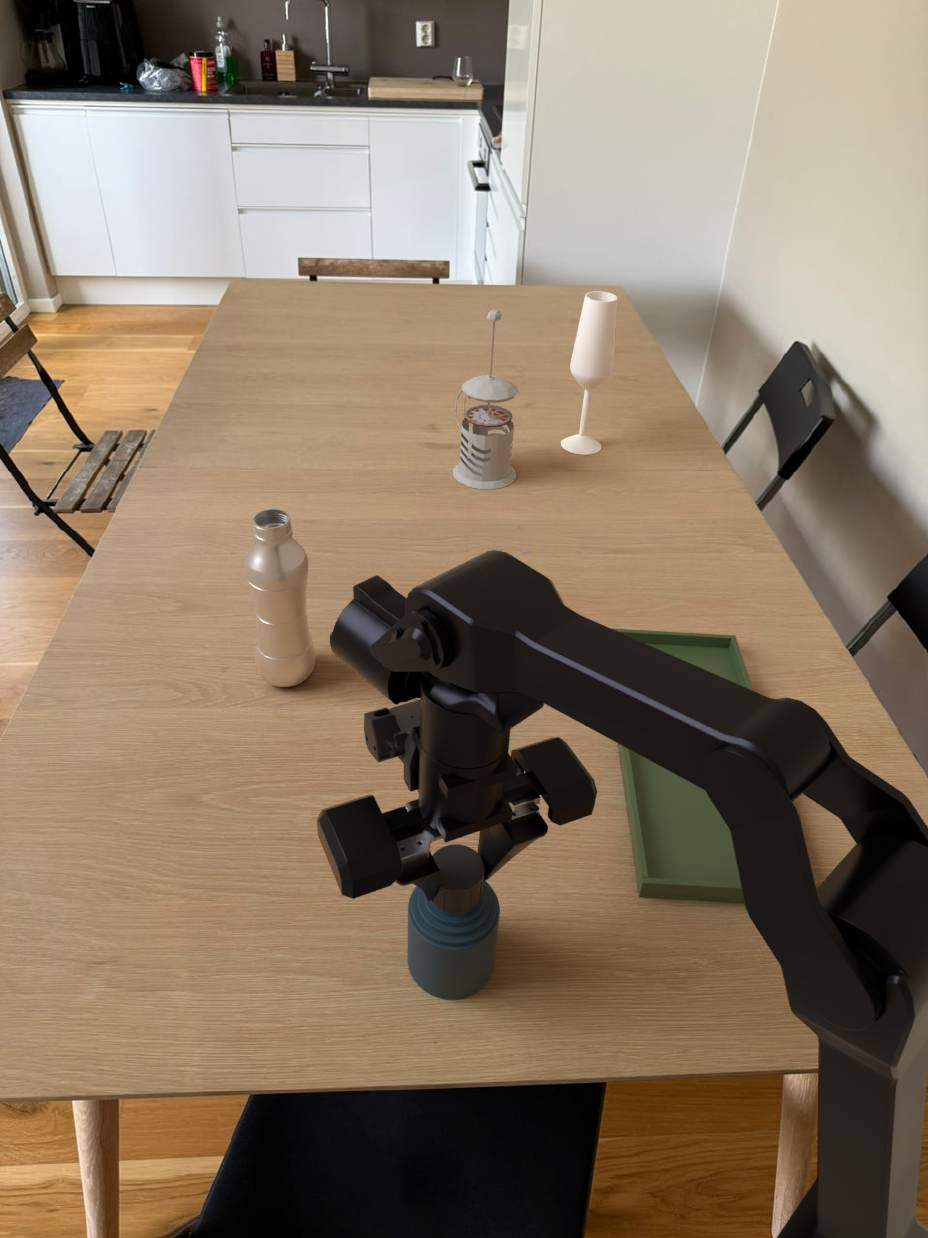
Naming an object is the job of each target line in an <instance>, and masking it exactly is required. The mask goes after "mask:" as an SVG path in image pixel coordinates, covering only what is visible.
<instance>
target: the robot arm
mask: <svg viewBox="0 0 928 1238" xmlns="http://www.w3.org/2000/svg"><path fill="white" fill-rule="evenodd" d="M352 592H353V593H352V594H353V596H352V597H353V599H351V600H350V601H349V602H348V604H347V605H346V606H345V607H344V608H343V609H342V611H341V612H340V614H339V615H338V616H337V618H336V621H335V623H334V625H333V628H332V629H333V630H332V631H331V633H329V646H330V649H331V652H332V653H333V655H334V656H335V657H336V658H338V659H339V660H340V661H341V662H342V663H343V664H345V665H346V666H347V667H348V668H350V669H351V670H352V671H353V672H355V673H356V674H357V675H358V676H359V677H361V678H362V679H363V680H364V681H366V682H367V683H368V684H369V685H370V686H372V687H373V688H374V689H376V690H377V691H378V692H379V693H380V694H382V695H383V696H384V697H385V698H386V699H388V700H389V701H390V702H392V703H393V704H394V705H396V706H393V707H391V708H388V707H382V708H379V709H374V710H371V711H368V712H365V713H364V714H363V733H364V739H365V745H366V748H367V750H368V752H369V753H370V754H371V756H372V757H373V758H374V760H375V761H376V762H378V763H382V762H386V761H389V760H391V759H395V758H398V759H399V761H401V762H402V765H403V781H404V783H405V785H406V787H407V788H408V790H409V792H415V791H417V793H418V798H416V799H413V800H410V801H408V802H406V803H405V805H404V806H400V807H397V808H394V809H391V810H388V811H385V812H382V810H381V808H380V805H379V804H378V802H377V800H376V797H375V796H374V794H367V795H363V796H360V797H357V798H354V799H351V800H348V801H344V802H341V803H338V804H335V805H331V806H328V807H325V808H322V809H321V810H320V812H319V814H318V816H317V818H316V829H317V830H316V831H317V837H318V839H319V842H320V844H321V847H322V849H323V852H324V854H325V857H326V860H327V861H328V864H329V866H330V869H331V871H332V874H333V877H334V879H335V881H336V884H337V886H338V889H339V891H340V894H341V896H344V897H347V898H349V899H352V900H355V899H357V898H360V897H363V896H367V895H368V894H371V893H374V892H377V891H381V890H383V889H386V888H389V887H391V886H393V884H394V883H396V884H397V885H399V886H400V887H401V886H402V887H406V886H409V885H414V886H415V887H416V886H417V887H419V888H420V889H422V891H423V892H424V894H425V896H426V898H427V899H428V901H431V900H433V899H434V897H435V895H436V893H437V887H438V880H439V874H440V870H439V868H438V866H437V864H436V862H435V860H434V858H433V854H432V852H431V850H430V849H431V844H432V843H434V842H437V841H439V840H443V841H444V843H446V844H447V843H449V842H452V841H455V840H457V839H461V838H464V837H467V836H470V835H473V834H474V833H478V832H479V835H478V844H477V851H476V852H477V853H478V854H479V855H480V857H481V858H482V860H483V863H484V870H485V873H484V881H485V880H486V881H488V880H489V879H490V878H492V877H493V876H494V875H496V873H497V872H499V871H500V870H501V869H502V868H503V867H504V866H506V865H507V863H509V862H510V861H511V860H513V859H514V858H515V857H516V856H517V855H519V854H520V853H521V852H522V851H523V850H525V849H526V848H527V847H529V846H530V845H532V844H533V843H534V842H535V841H537V840H539V839H540V838H541V839H542V838H543V837H545V836H546V835H547V834H548V831H549V825H548V824H547V822H546V820H545V819H544V818H543V816H542V815H541V813H540V807H539V805H540V803H541V798H542V799H543V801H544V802H545V804H546V805H547V806H548V808H547V815H546V816H547V818H548V819H549V821H550V822H551V823H553V824H555V825H557V826H564V825H566V824H569V823H573V822H575V821H577V820H581V819H583V818H586V817H589V816H592V815H593V812H594V809H595V805H596V800H597V795H598V788H597V786H596V781H595V779H594V778H593V776H592V775H591V774H590V772H589V771H588V769H587V768H586V767H585V765H584V764H583V763H582V762H581V760H580V759H579V758H578V756H577V754H576V753H575V752H574V751H573V749H572V748H571V746H570V745H569V744H568V742H566V741H565V740H564V739H562V738H561V737H560V736H555V737H549V738H546V739H542V740H540V741H537V742H533V743H530V744H527V745H524V746H520V747H517V748H514V749H511V750H510V742H511V739H510V737H511V730H512V729H513V728H515V727H516V726H518V725H519V724H520V723H522V722H523V721H525V720H526V719H528V718H529V717H531V716H533V715H534V714H535V713H537V712H538V711H540V710H541V709H543V708H544V706H545V705H546V706H548V707H550V708H552V709H553V710H555V711H557V712H559V713H561V714H563V715H565V716H567V717H569V718H571V719H572V720H574V721H576V722H578V723H579V724H582V725H583V726H585V727H587V728H588V729H590V730H593V731H594V732H596V733H598V734H600V735H601V736H603V737H605V738H607V739H609V740H611V741H612V742H615V743H617V745H618V744H620V745H622V746H624V747H626V748H628V749H629V750H631V751H633V752H635V753H637V754H639V755H641V756H642V757H644V758H646V759H648V760H650V761H652V762H654V763H655V764H657V765H659V766H661V767H663V768H665V769H667V770H668V771H670V772H672V773H674V774H676V775H678V776H680V777H681V778H683V779H685V780H687V781H689V782H691V783H692V784H694V785H696V786H698V787H700V788H702V789H704V790H705V791H706V793H707V795H708V796H709V798H710V800H711V801H712V803H713V804H714V806H715V807H716V809H717V810H718V812H719V814H720V815H721V817H722V818H723V820H724V821H725V823H726V824H727V826H728V827H729V829H730V832H731V837H732V842H733V847H734V852H735V857H736V862H737V867H738V872H739V877H740V882H741V887H742V892H743V897H744V902H745V903H744V902H743V903H744V906H745V909H746V913H747V914H748V917H749V919H750V920H751V922H752V923H753V925H754V926H755V928H756V929H757V931H758V933H759V934H760V936H761V937H762V939H763V940H764V942H765V944H766V946H767V947H768V949H769V951H770V952H771V953H772V954H773V956H774V958H775V959H776V961H777V962H778V965H779V966H780V968H781V973H782V977H783V982H784V987H785V991H786V996H787V1001H788V1005H789V1008H790V1011H791V1013H792V1014H793V1015H794V1016H795V1017H796V1018H798V1020H799V1021H800V1022H802V1023H803V1024H804V1025H805V1026H806V1027H807V1028H808V1029H809V1030H810V1031H811V1032H813V1033H814V1034H815V1035H816V1037H817V1045H818V1049H817V1051H818V1052H817V1053H818V1056H817V1059H818V1060H817V1067H818V1068H817V1139H816V1140H817V1144H816V1145H817V1147H816V1149H817V1150H816V1154H817V1155H816V1157H817V1158H816V1163H817V1164H816V1178H815V1179H814V1181H813V1183H812V1184H811V1186H810V1187H809V1189H808V1190H807V1191H806V1193H805V1195H804V1196H803V1198H802V1199H801V1201H800V1202H799V1203H798V1205H797V1207H796V1208H795V1210H794V1211H793V1212H792V1214H791V1215H790V1217H789V1219H788V1220H787V1221H786V1223H785V1225H784V1226H783V1227H782V1229H781V1230H780V1232H779V1233H778V1235H777V1236H776V1238H928V1227H927V1225H925V1224H924V1223H922V1222H921V1221H920V1220H919V1219H917V1216H916V1211H917V1201H918V1190H919V1179H920V1178H919V1177H920V1167H921V1166H920V1165H921V1155H922V1141H923V1134H924V1133H923V1132H924V1122H925V1121H924V1119H925V1111H926V1110H925V1108H926V1098H927V1084H928V826H927V824H926V822H925V821H924V819H923V818H922V816H921V815H920V814H919V812H918V810H917V809H916V807H915V806H914V805H913V803H912V801H911V799H909V797H908V796H906V794H905V793H903V791H902V790H901V791H900V790H899V789H898V788H897V787H896V786H894V785H892V784H891V783H889V782H888V781H886V780H885V779H883V778H882V777H880V776H879V775H877V774H876V773H875V772H873V771H871V770H870V769H869V768H867V767H865V766H864V765H862V764H861V762H858V761H857V760H855V759H854V758H852V757H851V756H850V755H849V753H848V752H847V751H846V749H845V748H844V746H843V745H842V742H840V740H839V739H838V737H837V736H836V734H835V732H834V731H833V730H832V728H831V726H830V725H829V723H828V722H827V721H826V720H825V719H824V717H823V716H822V715H821V714H820V713H819V712H818V711H817V710H816V709H815V708H813V706H811V705H809V704H807V703H805V702H804V701H802V700H800V699H799V700H798V699H796V698H791V697H780V698H779V697H778V698H773V697H770V696H769V697H768V696H766V695H764V694H762V693H759V692H758V691H754V689H753V690H750V689H748V688H746V687H743V686H741V685H739V684H737V683H734V682H732V681H730V680H727V679H725V678H723V677H721V676H718V675H716V674H714V673H711V672H709V671H707V670H705V669H702V668H700V667H698V666H695V665H693V664H691V663H689V662H686V661H684V660H682V659H679V658H677V657H675V656H673V655H670V654H668V653H666V652H663V651H661V650H659V649H657V648H654V647H652V646H650V645H647V644H645V643H643V642H641V641H638V640H636V639H634V638H631V637H629V636H627V635H625V634H622V633H620V632H618V631H615V630H613V629H614V628H612V629H611V627H609V626H606V625H604V624H601V623H599V622H597V621H595V620H593V619H590V618H588V617H585V616H583V615H581V614H579V613H578V612H576V611H575V610H573V609H572V608H570V607H568V606H567V605H565V603H564V601H563V599H562V597H561V595H560V593H559V592H558V590H557V588H556V586H555V584H554V582H553V581H552V579H550V578H549V577H547V576H545V575H544V574H543V573H541V572H539V571H538V570H536V569H534V568H533V567H532V566H529V565H528V564H526V563H524V562H523V561H521V560H520V559H518V558H517V557H516V556H514V555H512V554H510V553H508V552H506V551H502V550H497V549H493V550H487V551H485V552H483V553H480V554H479V555H477V556H475V557H473V558H471V559H469V560H467V561H465V562H462V563H460V564H458V565H457V566H454V567H453V568H450V569H449V570H446V571H444V572H443V573H441V574H439V575H436V576H434V577H433V578H431V579H428V580H426V581H424V582H422V583H420V584H418V585H416V586H414V587H413V588H412V589H411V590H410V591H409V592H408V593H407V597H406V596H404V595H403V594H401V593H400V592H399V591H398V590H396V589H395V588H394V587H393V586H392V585H391V584H390V583H389V582H388V581H387V580H386V579H384V578H383V577H381V576H380V575H378V574H376V575H373V576H372V577H369V578H368V579H365V580H363V581H361V582H359V583H357V584H354V585H353V586H352ZM415 699H418V700H415ZM412 700H414V701H412ZM410 701H411V702H410ZM406 702H407V703H406ZM400 703H403V704H400ZM399 704H400V705H399ZM509 750H510V751H511V752H510V751H509ZM509 752H510V753H509ZM802 795H804V796H805V797H807V798H808V799H809V800H811V801H813V802H814V803H816V804H817V805H818V806H820V807H822V808H823V809H824V810H826V811H828V812H829V813H830V814H831V815H834V816H835V817H837V818H838V819H839V820H840V821H841V822H842V824H843V826H844V827H845V829H846V830H847V832H848V833H849V835H850V836H851V838H852V839H853V841H854V843H855V845H854V846H853V847H852V848H851V849H850V850H849V852H848V853H847V854H846V855H845V856H844V857H843V858H842V859H841V861H840V862H839V863H838V864H837V865H836V866H835V867H834V869H832V871H831V872H830V873H829V874H828V875H827V876H826V877H825V878H824V880H823V881H822V882H820V884H819V885H817V886H818V888H817V889H816V886H815V881H814V877H815V876H814V877H813V874H814V872H813V873H812V871H813V868H812V864H811V861H810V856H809V852H808V847H807V843H806V839H805V838H806V837H805V834H804V829H803V825H802V820H801V817H800V814H799V812H798V810H797V807H796V805H795V804H794V803H795V802H796V801H797V800H798V799H799V798H800V797H801V796H802Z"/></svg>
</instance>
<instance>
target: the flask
mask: <svg viewBox="0 0 928 1238" xmlns="http://www.w3.org/2000/svg"><path fill="white" fill-rule="evenodd" d="M499 901H500V900H499V899H498V896H497V893H496V892H495V890H494V889H493V887H492V886H491V885H490V884H489V883H488V880H485V881H484V884H483V890H482V896H481V900H480V901H479V902H478V904H477V905H476V906H475V907H474V908H472V909H471V910H469V911H466V912H463V913H448V912H445V911H443V910H441V909H439V908H438V907H436V906H435V905H434V904H433V903H432V902H431V901H428V899H427V898H426V896H425V894H424V892H423V891H422V889H420V888H419V887H417V886H416V885H415V887H414V889H413V890H412V892H411V894H410V896H409V898H408V904H407V966H408V970H409V974H410V975H411V977H412V979H413V981H414V982H415V983H416V984H417V985H418V986H419V988H420V989H422V990H423V991H424V992H426V993H428V994H429V995H431V996H434V997H436V998H439V999H443V1000H444V999H445V1000H458V999H459V1000H460V999H463V998H467V997H469V996H472V995H473V994H475V993H477V992H479V991H480V990H481V989H482V988H484V986H485V985H486V984H487V983H488V981H489V979H490V978H491V976H492V973H493V970H494V967H495V959H496V958H495V957H496V949H497V942H498V934H499V933H498V932H499V923H500V917H501V916H500V913H501V907H500V902H499Z"/></svg>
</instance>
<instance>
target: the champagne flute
mask: <svg viewBox="0 0 928 1238" xmlns="http://www.w3.org/2000/svg"><path fill="white" fill-rule="evenodd" d="M582 304H583V305H582V307H581V313H580V318H579V322H578V326H577V331H576V336H575V340H574V345H573V348H572V349H573V350H572V354H571V359H570V364H569V371H570V374H571V375H572V378H573V379H574V381H576V382H577V383H578V384H579V386H580V387H581V388H583V389H584V392H583V393H584V395H583V401H582V408H581V415H580V422H579V423H580V424H579V429H578V430H579V431H578V433H576V434H572V435H569V436H567V437H565V438H563V439H562V440H561V441H560V445H561V447H562V449H563V450H565V451H567V452H568V453H572V454H575V455H582V456H583V455H584V456H588V455H595V454H596V453H598V452H600V451H601V450H602V444H601V443H600V442H599V441H598V440H596V439H595V438H593V437H591V436H590V435H588V434H587V432H588V423H589V418H590V411H591V402H592V396H593V390H596V389H598V388H599V387H600V386H602V385H604V384H605V383H607V381H608V380H609V379H610V378H611V376H612V375H613V373H614V368H615V349H616V334H617V333H616V331H617V312H618V295H615V294H614V293H612V292H608V291H599V290H596V291H594V290H593V291H588V292H587V293H585V294H584V298H583V303H582Z"/></svg>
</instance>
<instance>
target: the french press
mask: <svg viewBox="0 0 928 1238" xmlns="http://www.w3.org/2000/svg"><path fill="white" fill-rule="evenodd" d="M487 320H489V321H493V323H492V338H491V342H492V343H491V353H490V368H489V374H484V375H479V376H478V375H477V376H473V377H472V378H470V379H468V380H466V381H465V382H464V383H463V384H462V385H461V390H460V391H459V392H458V393H457V394H456V397H455V401H454V414H455V420H456V424H457V427H458V428H459V430H460V446H459V447H460V450H459V462H458V463H457V464H456V465H455V466H454V468H453V470H452V476H453V478H454V479H455V480H456V481H457V482H458V483H460V484H462V485H464V486H466V487H468V488H472V489H473V488H474V489H479V490H497V489H501V488H506V487H507V486H509V485H511V484H513V483H514V482H515V480H516V478H517V472H516V470H515V469H514V468H513V467H512V466H511V464H512V455H513V441H514V431H515V426H514V422H513V421H512V419H513V417H514V416H513V413H512V412H511V411H510V410H509V409H507V408H505V407H502V406H500V405H494V404H495V403H496V404H498V403H499V404H500V403H504V402H509V401H511V400H513V399H515V397H516V396H517V394H518V393H519V389H518V386H517V385H516V384H514V383H513V382H511V381H510V380H509V379H507V378H505V377H502V376H499V375H493V361H494V360H493V359H494V344H495V331H496V330H495V329H496V322H497V321H500V320H502V313H501V311H499V310H498V309H491V310H490V311H489V312H488V313H487ZM462 393H464V397H463V406H462V409H463V417H464V418H463V419H462V421H461V424H460V423H459V419H458V411H457V410H458V409H457V401H458V399H459V397H460V395H461V394H462ZM466 399H469V400H470V399H472V400H475V401H478V402H482V403H486V404H476V405H472V406H470V407H468V408H467V409H466ZM470 424H472V427H471V425H470ZM504 426H507V428H508V429H507V428H506V427H504ZM493 430H495V431H502V432H504V433H503V434H502V433H500V432H499V433H498V432H497V433H496V432H493V433H489V432H490V431H493ZM469 443H470V444H471V445H469ZM469 451H470V453H469Z"/></svg>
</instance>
